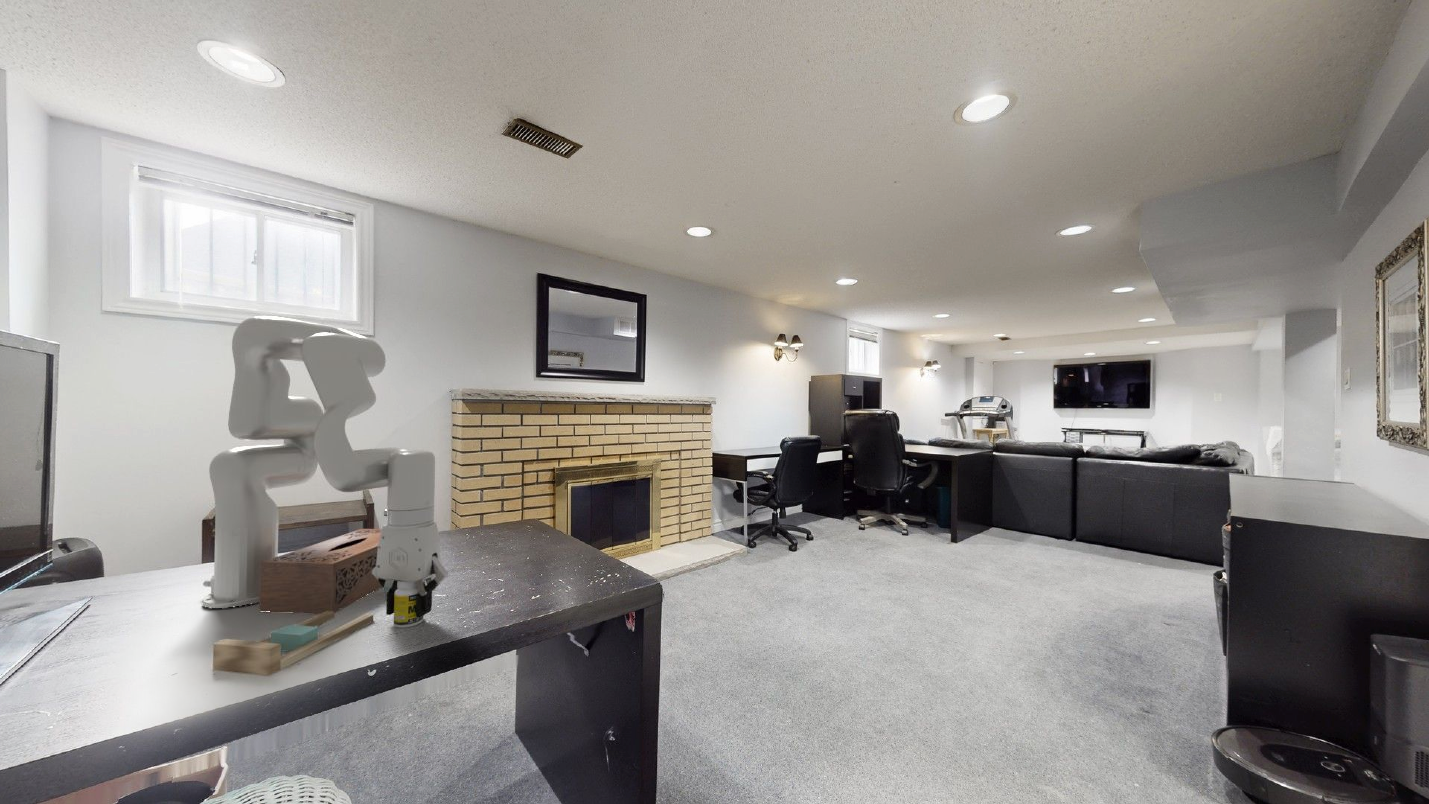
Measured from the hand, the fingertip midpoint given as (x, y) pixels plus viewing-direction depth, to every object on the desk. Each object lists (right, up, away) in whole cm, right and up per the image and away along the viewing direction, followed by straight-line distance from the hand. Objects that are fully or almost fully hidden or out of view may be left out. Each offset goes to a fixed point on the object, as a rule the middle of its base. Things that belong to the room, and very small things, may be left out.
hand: (409, 612), depth 90 cm
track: (-13, -2, -7) cm, 15 cm away
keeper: (-13, -2, -9) cm, 16 cm away
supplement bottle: (0, -2, 0) cm, 2 cm away
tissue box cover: (-24, -2, +16) cm, 29 cm away
